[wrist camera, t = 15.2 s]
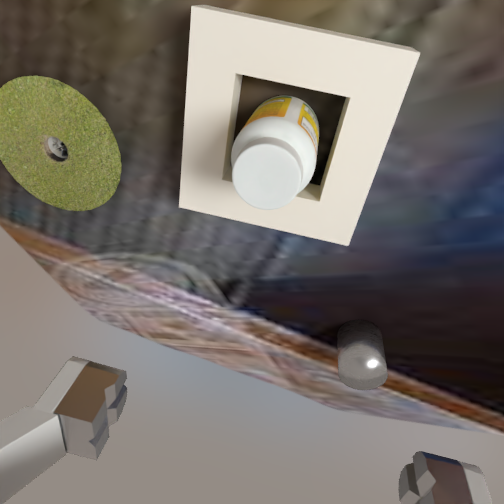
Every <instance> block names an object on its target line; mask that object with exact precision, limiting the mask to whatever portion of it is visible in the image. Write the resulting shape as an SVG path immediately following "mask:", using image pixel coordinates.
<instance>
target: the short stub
mask: <svg viewBox="0 0 504 504" xmlns="http://www.w3.org/2000/svg"><path fill="white" fill-rule="evenodd" d="M337 336H338V373H339V378H340V380H341V381H342V382H343V383H344V384H345V385H347V386H349V387H351V388H354V389H358V390H370V389H374V388H377V387H379V386H381V385H382V384H384V383H385V381H386V380H387V377H388V373H387V367H386V360H385V354H384V347H383V341H382V335H381V331H380V329H379V328H378V327H377V326H376V325H375V324H373V323H372V322H369V321H365V320H353V321H349V322H347V323H345V324H343V325H342V326H341V327H340V329H339V330H338V334H337Z"/></svg>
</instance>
